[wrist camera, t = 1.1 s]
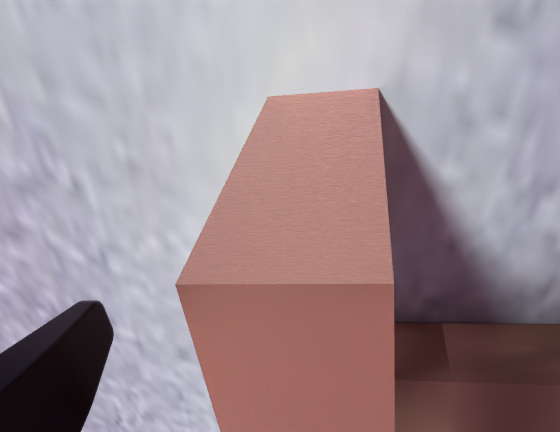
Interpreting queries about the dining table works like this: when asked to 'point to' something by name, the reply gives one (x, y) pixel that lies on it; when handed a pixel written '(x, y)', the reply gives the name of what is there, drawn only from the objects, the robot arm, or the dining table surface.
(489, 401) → the board with rectangular hole
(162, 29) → the dining table surface
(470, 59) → the dining table surface
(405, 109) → the dining table surface
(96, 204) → the dining table surface
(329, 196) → the reddish brown block
